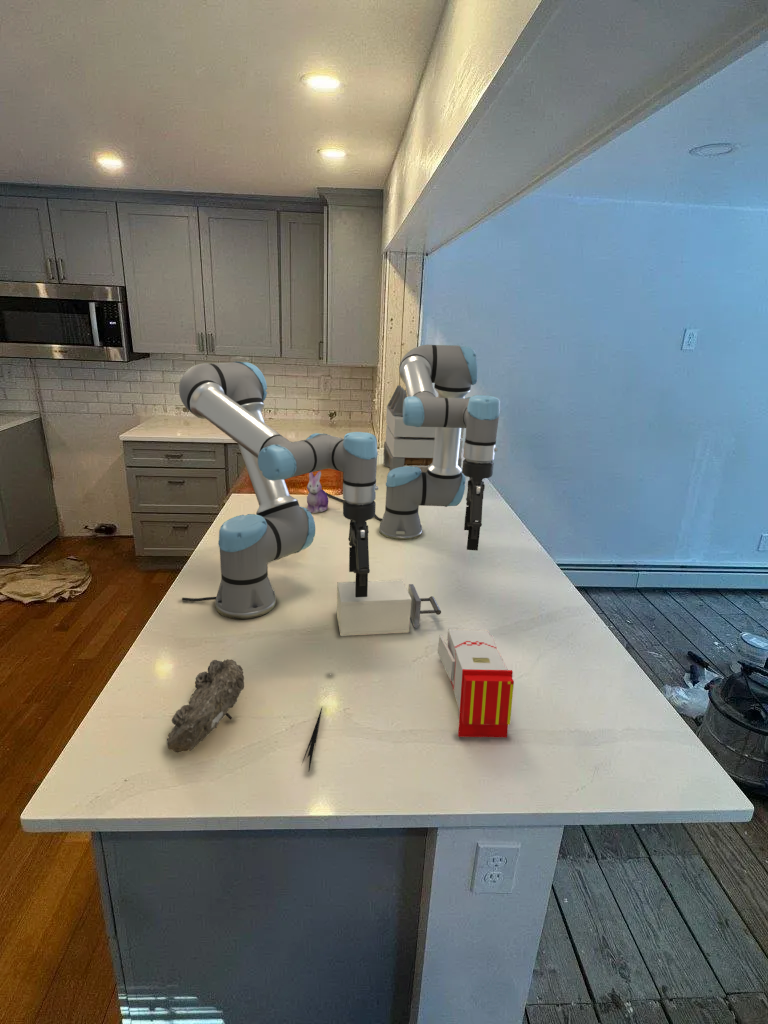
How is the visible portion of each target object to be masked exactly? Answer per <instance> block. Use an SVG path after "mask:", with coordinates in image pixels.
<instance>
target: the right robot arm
mask: <svg viewBox="0 0 768 1024" xmlns="http://www.w3.org/2000/svg"><path fill="white" fill-rule="evenodd" d="M477 357H478V356H477V353H476V351H475V349H474V348H473V347H471V346H466V345H465V346H464V345H455V344H454V345H451V344H450V345H449V344H422V345H419V346H416V347H413V348H412V349H410V350H409V351H407V353H405V355H403V357H402V358H401V360H400V363H399V367H398V370H399V371H398V373H399V377H400V379H401V381H402V382H403V383H404V385H405V390H406V393H407V396H408V397H406V398H405V399H404V402H403V423H404V424H405V425H406V426H415V427H436V428H435V440H434V451H433V462H432V463H431V464H430V465H428V466H427V471H422V469H421V468H420V467H419V466H407V465H404V467H398V468H395V469H392V470H391V471H390V470H388V473H387V475H386V482H385V487H386V488H385V489H386V490H385V504H384V505H385V507H384V508H385V509H384V513H383V515H382V517H378V516H377V515H376V513H375V516H374V518H375V519H376V520H377V521H379V527H378V533H379V534H380V535H381V536H382V537H385V538H387V539H389V540H395V541H410V540H415V539H418V538H420V537H421V536H422V535H423V525H422V524H421V518H420V515H419V507H420V506H421V507H423V506H424V507H425V506H426V507H445V508H447V507H457V506H459V504H460V503H461V502H462V500H463V497H464V494H465V490H466V478H468V480H467V493H466V498H465V501H466V503H465V504H466V506H465V514H464V515H465V516H464V525H463V531H468V532H467V540H466V541H467V542H466V551H475V552H477V551H479V542H480V534H481V527H482V525H483V522H482V520H483V501H484V491H485V486H486V485H485V481H483V480H484V479H489V478H491V477H493V473H494V464H495V463H494V459H495V452H498V447H497V446H496V444H497V437H498V428H499V420H500V415H501V410H500V409H501V400H500V399H499V398H498V397H497V396H492V395H486V394H485V395H481V394H480V395H479V394H478V395H477V394H476V395H472V396H468V397H466V395H467V394H469V393H470V392H471V387H472V386H474V385H476V384H477V382H478V378H479V377H478V376H479V368H478V367H479V365H478V359H477ZM433 384H434V385H433ZM435 391H436V392H435ZM436 393H437V395H438V396H437V395H436ZM461 428H464V429H465V439H464V443H463V445H464V446H463V458H464V459H463V460H462V467H461V468H460V467H459V466H458V457H459V447H460V439H462V438H461ZM326 494H327V496H328V498H331V499H334V500H336V501H339V502H342V503H343V502H344V499H343V498H339V497H337V496H335V495H332V494H330V493H329V492H328V493H327V492H326Z"/></svg>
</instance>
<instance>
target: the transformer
mask: <svg viewBox="0 0 768 1024" xmlns="http://www.w3.org/2000/svg"><path fill="white" fill-rule="evenodd" d="M406 397H408V396H407V391H406V389H404V388H403V387H402V385H399V384H398V385H397V386H396V388H395V390H394V392H393V394H392V395H391V398H390V400H389V402H388V404H387V405H386V413H385V414H386V415H385V423H386V428H385V438H384V442H383V466H384V467H388V468H389V471H391V470H392V469H395V468H398V467H404V466H413V467H428V466H429V465H430V464H431V463H432V462H433V451H434V440H435V428H436V427H415V426H406V425H405V424H404V423H403V402H404V399H405V398H406ZM464 429H465V428H461V438H460V447H459V457H458V466H459V467H460V468H461V469H462V463H463V460H462V453H463V444H464V443H463V442H464V441H463V440H462V439H463V438H464V431H465V430H464Z"/></svg>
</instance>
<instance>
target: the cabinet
mask: <svg viewBox="0 0 768 1024" xmlns="http://www.w3.org/2000/svg"><path fill="white" fill-rule="evenodd" d="M355 587H356V581H340V582H339V581H338V582H337V583H336V619H337V625H338V631H339V637H348V636H349V637H350V636H367V635H369V636H370V635H385V634H386V635H387V634H405V633H407V634H408V633H410V626H411V625H410V624H411V618H410V611H411V597H410V595H409V593H408V589H407V586H406V583H405V581H404V580H403V579H391V580H368V589H367V597H355Z"/></svg>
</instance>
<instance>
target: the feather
mask: <svg viewBox="0 0 768 1024" xmlns="http://www.w3.org/2000/svg"><path fill="white" fill-rule="evenodd" d="M329 675H330V676H331V675H332V674H331V673H330V674H329ZM322 710H323V707H321V708H320V710H319V713H318V716H317V719H316V723H315V725H314V728H313V731H312V733H311V737H310V739H309V742H308V745H307V748H306V751H305V754H304V757H303V760H302V763H301V767H302V765H303V763H304V761H305V758H308V759H309V760H308V762H307V763H308V764H307V766H308V771H310V770H311V766H312V765H311V764H312V760H313V757H315V756H314V755H315V751H316V749H315V746H317V739H318V733H319V729H320V722H321V717H322V712H323V711H322ZM313 754H314V755H313ZM306 755H307V757H306Z"/></svg>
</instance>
